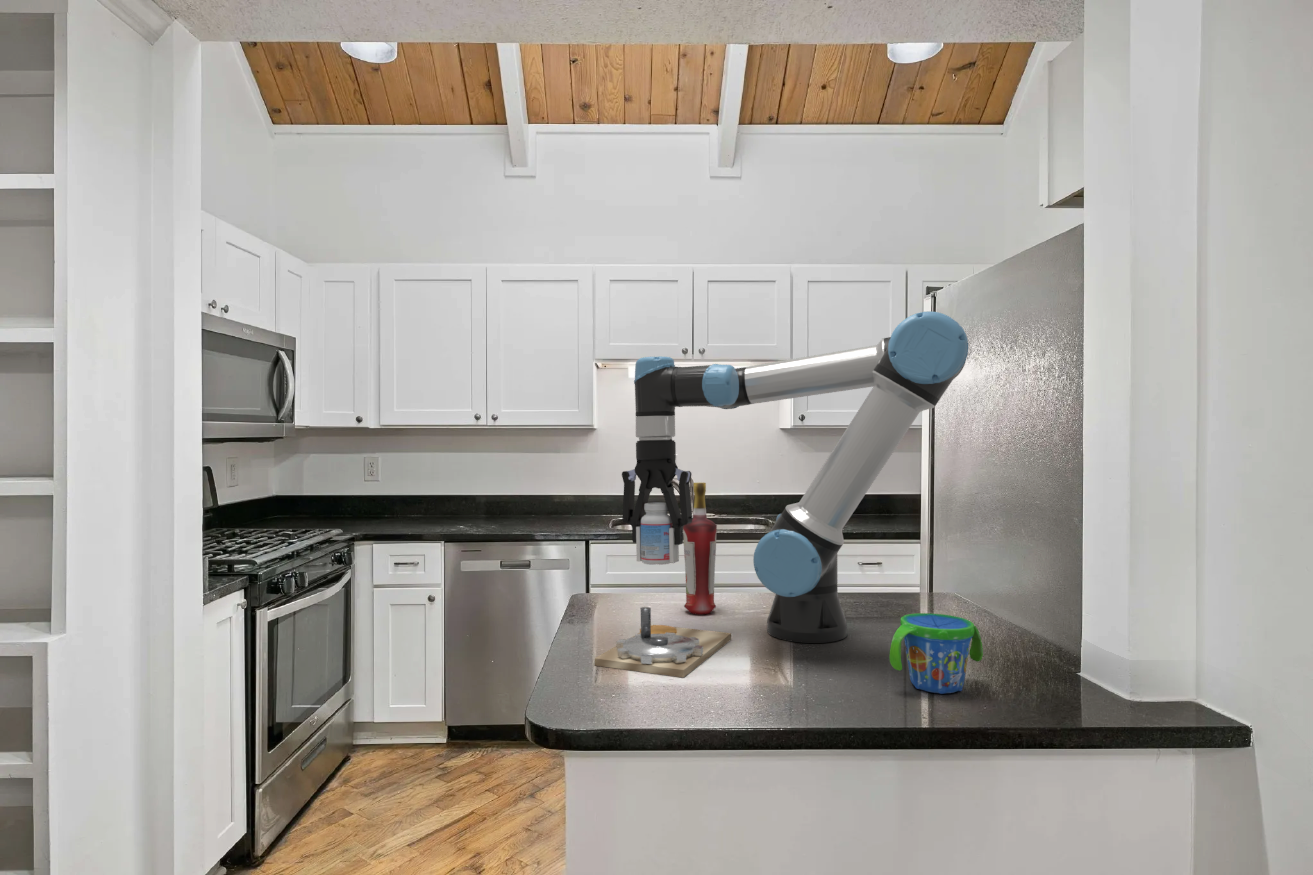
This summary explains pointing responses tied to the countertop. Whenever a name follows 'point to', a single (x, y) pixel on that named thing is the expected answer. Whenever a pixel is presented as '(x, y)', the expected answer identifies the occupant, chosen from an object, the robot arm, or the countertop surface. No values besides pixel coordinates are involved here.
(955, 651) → the snack cup
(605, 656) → the board
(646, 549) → the pill bottle
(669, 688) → the countertop surface
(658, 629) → the seat pad
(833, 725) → the countertop surface
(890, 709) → the countertop surface
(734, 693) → the countertop surface
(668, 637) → the sprocket disc
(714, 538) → the liquor
